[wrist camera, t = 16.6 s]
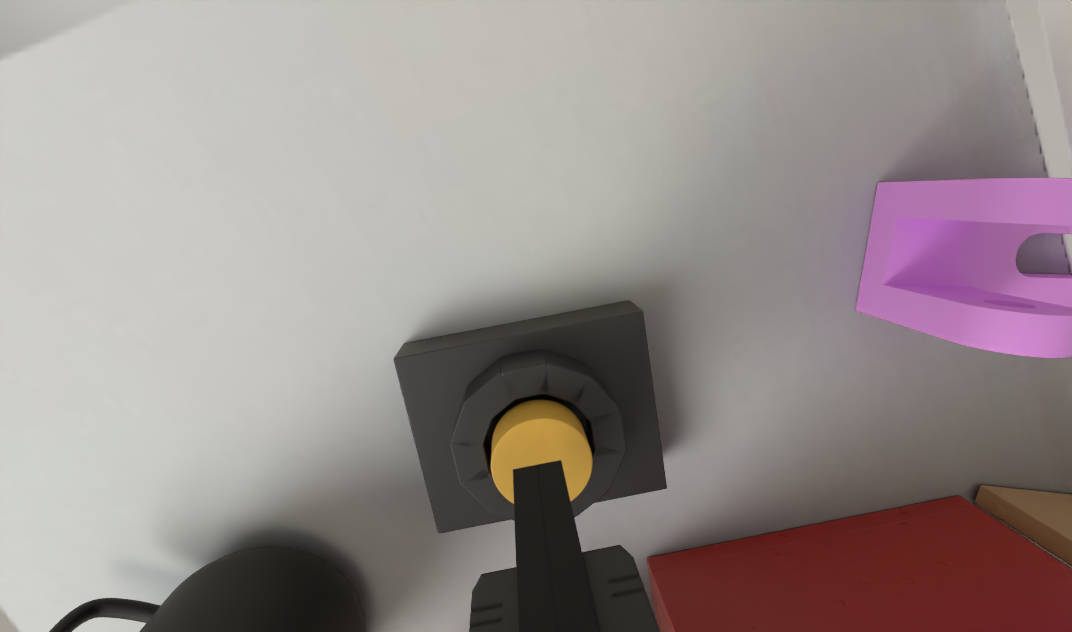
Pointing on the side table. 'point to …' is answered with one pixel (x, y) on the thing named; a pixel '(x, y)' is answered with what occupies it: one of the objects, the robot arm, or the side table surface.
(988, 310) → the bracket
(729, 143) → the side table surface
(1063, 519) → the cabinet door
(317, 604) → the mug
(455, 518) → the box
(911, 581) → the cabinet
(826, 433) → the side table surface
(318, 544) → the side table surface
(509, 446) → the alarm button
